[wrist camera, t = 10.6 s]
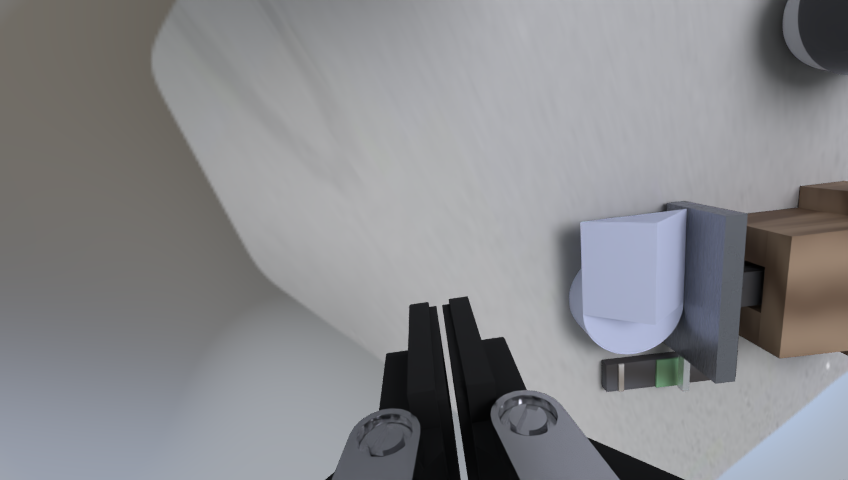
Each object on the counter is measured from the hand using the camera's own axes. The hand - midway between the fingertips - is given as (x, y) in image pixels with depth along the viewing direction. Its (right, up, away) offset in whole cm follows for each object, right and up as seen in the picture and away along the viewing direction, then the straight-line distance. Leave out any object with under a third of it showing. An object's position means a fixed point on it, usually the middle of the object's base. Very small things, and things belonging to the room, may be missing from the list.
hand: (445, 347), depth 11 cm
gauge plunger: (+28, -2, +27) cm, 39 cm away
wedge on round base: (+18, 0, +27) cm, 32 cm away
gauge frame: (+28, -2, +27) cm, 39 cm away
